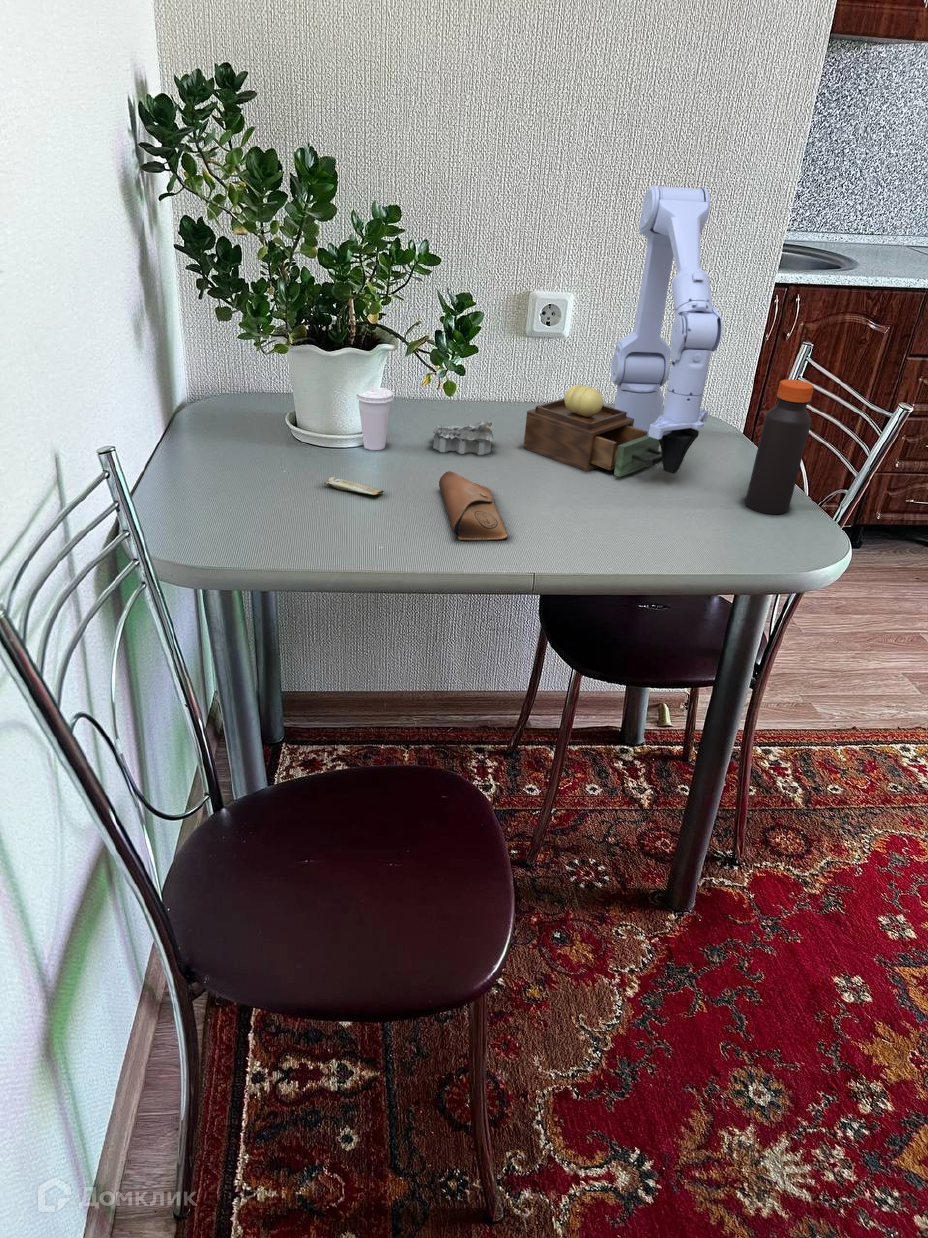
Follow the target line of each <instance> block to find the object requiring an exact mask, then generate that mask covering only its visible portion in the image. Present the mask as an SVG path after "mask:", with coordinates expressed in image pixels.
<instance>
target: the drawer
mask: <svg viewBox="0 0 928 1238" xmlns="http://www.w3.org/2000/svg"><path fill="white" fill-rule="evenodd" d="M661 463H662V452H661V450H660V443H659V440H658V439H655V438H652V437H649V436H648V435H647V431H644V430H641V429H638V428H635V427H632V426H629V425H625V426H622V427H619V428H616V429H613V430H610V431H607V432H604V433H601V434H598V435H595V436H594V441H593V448H592V456H591V464H594V465H597V466H599V467H598V468H603V469H605V470H608V471H613V470H614V472H613V475H614V476H616V477H618V478H621V477H623V476H626V475H628V474H630V473H633V472H635V471H637V470H640V469H643V468H645V467H647V468H651V467H654V466H657V465H659V464H661Z"/></svg>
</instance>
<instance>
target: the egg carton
mask: <svg viewBox="0 0 928 1238" xmlns="http://www.w3.org/2000/svg"><path fill="white" fill-rule="evenodd" d="M432 433H433V434H434V435H433V447H432V448H433V449H434V450H436V451H438V452H439V453H446V452H450V451H452V452H456V453H458V454H460V455H464V454H467V453H475V454H477V456H484V455H488V454H490V453H492V452H491V451H492V442H493V439H494V433H493V422H492V421H491V422H488V421H480V422H479V421H478V422H475V423H474V425H470V424H466V425H461V426H458V425H449V426H442V425H437V424H436V425H434V429H433V432H432Z"/></svg>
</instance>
